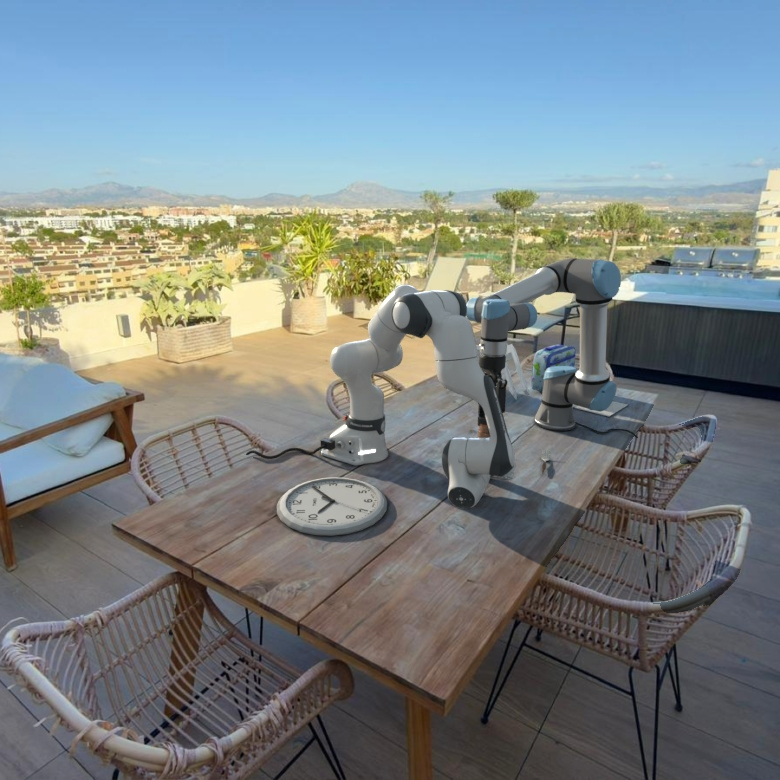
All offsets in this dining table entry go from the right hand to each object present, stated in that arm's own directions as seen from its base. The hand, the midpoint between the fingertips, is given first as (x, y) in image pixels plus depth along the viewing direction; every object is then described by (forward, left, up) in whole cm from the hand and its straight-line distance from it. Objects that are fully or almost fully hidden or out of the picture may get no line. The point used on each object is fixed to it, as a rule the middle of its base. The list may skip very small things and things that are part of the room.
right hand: (487, 428), depth 157 cm
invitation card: (-54, -74, -16) cm, 93 cm away
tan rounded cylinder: (0, 0, -16) cm, 16 cm away
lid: (0, 0, +4) cm, 4 cm away
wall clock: (+42, +24, -16) cm, 51 cm away
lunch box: (-37, -98, -16) cm, 105 cm away
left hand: (0, -1, -9) cm, 9 cm away
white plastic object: (-2, -86, -16) cm, 88 cm away
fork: (-20, -11, -16) cm, 27 cm away
